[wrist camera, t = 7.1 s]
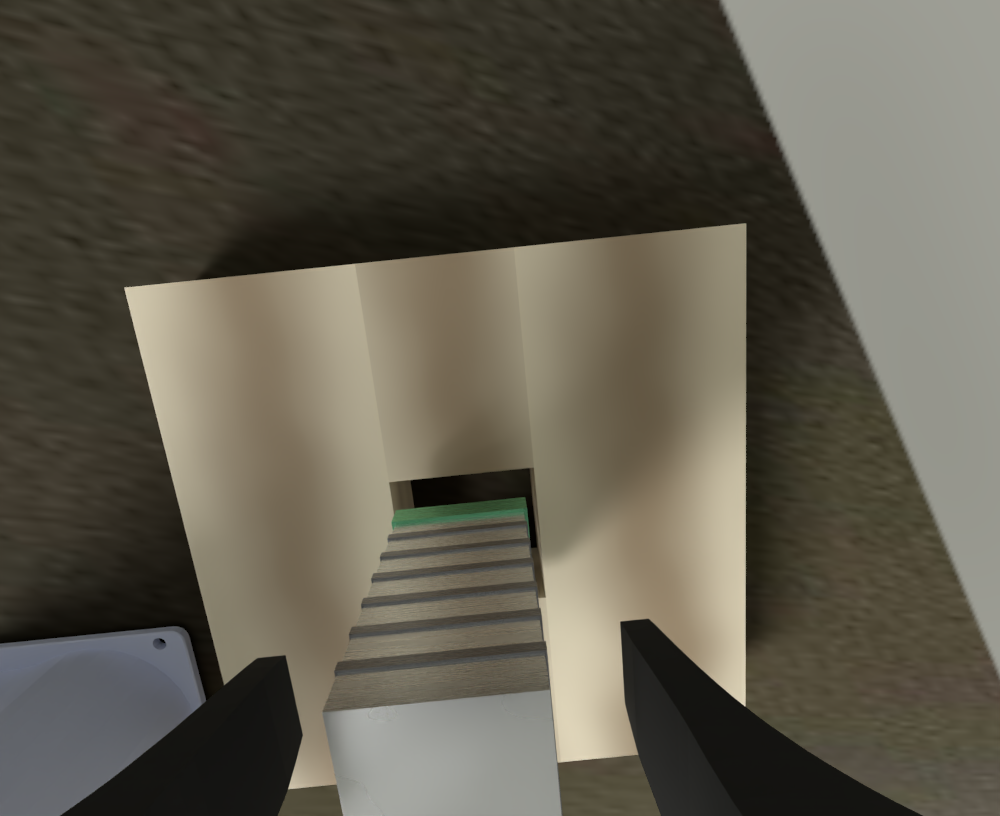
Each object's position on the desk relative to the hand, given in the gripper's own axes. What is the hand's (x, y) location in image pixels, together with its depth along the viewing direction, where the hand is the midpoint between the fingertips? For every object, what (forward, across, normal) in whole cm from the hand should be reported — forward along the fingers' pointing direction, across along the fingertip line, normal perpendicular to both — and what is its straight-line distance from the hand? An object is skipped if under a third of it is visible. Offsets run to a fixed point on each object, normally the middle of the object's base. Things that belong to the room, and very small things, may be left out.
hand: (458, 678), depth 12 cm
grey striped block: (+5, 0, 0) cm, 5 cm away
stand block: (+10, 0, 0) cm, 10 cm away
